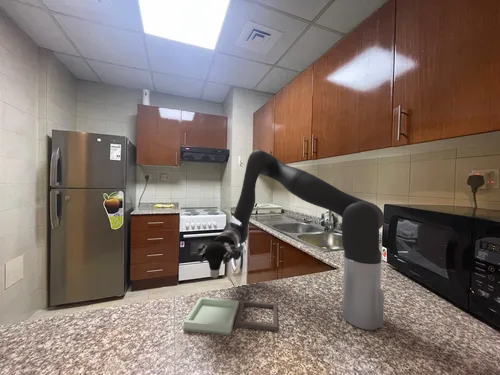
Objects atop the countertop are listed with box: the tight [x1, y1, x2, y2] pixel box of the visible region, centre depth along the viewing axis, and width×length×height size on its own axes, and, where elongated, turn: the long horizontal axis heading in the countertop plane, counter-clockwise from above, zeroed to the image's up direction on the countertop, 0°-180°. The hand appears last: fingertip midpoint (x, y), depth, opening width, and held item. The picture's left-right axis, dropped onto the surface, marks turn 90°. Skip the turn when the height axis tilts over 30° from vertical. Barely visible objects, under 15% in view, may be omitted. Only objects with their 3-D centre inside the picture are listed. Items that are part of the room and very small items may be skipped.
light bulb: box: [205, 241, 226, 279], centre depth 58 cm, size 6×6×10 cm
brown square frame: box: [234, 300, 278, 332], centre depth 59 cm, size 11×11×1 cm
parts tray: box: [183, 296, 240, 336], centre depth 57 cm, size 12×12×2 cm
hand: (212, 259), depth 55 cm, fingers closed on light bulb, 6 cm apart
